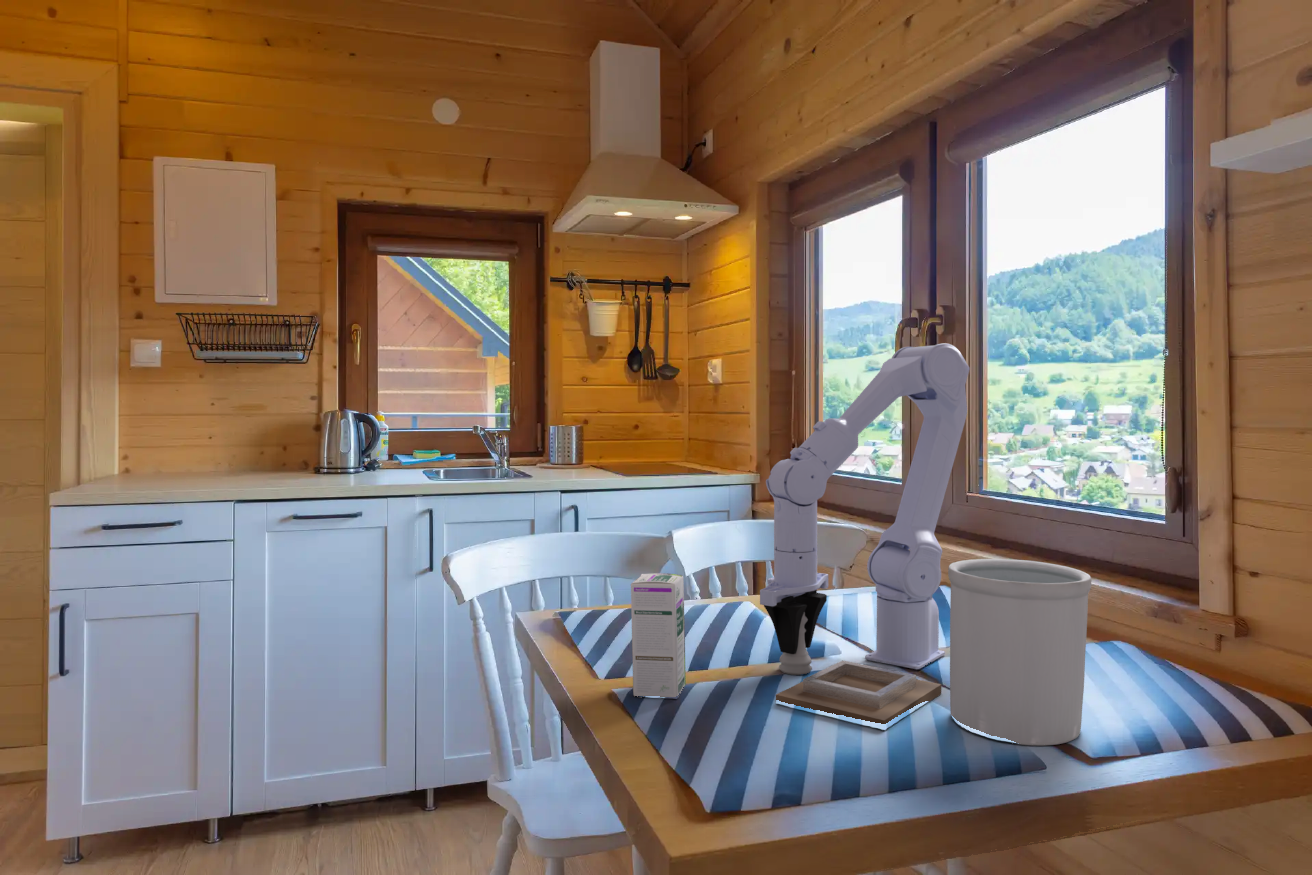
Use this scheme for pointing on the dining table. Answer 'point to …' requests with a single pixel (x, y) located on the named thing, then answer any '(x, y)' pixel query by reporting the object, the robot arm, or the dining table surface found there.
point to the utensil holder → (1018, 648)
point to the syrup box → (658, 635)
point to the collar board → (860, 692)
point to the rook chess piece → (797, 656)
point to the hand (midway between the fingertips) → (795, 649)
